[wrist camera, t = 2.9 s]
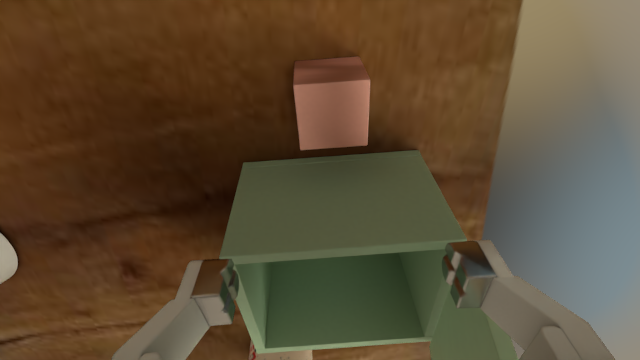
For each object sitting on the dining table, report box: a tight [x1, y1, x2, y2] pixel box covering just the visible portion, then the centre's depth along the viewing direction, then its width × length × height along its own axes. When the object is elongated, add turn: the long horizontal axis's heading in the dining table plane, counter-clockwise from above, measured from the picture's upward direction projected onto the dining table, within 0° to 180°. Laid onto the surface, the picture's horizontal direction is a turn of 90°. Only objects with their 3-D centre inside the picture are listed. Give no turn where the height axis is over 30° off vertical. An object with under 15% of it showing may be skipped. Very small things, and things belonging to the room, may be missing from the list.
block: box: [293, 56, 370, 150], centre depth 21 cm, size 4×4×4 cm
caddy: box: [219, 150, 467, 354], centre depth 26 cm, size 15×13×10 cm
